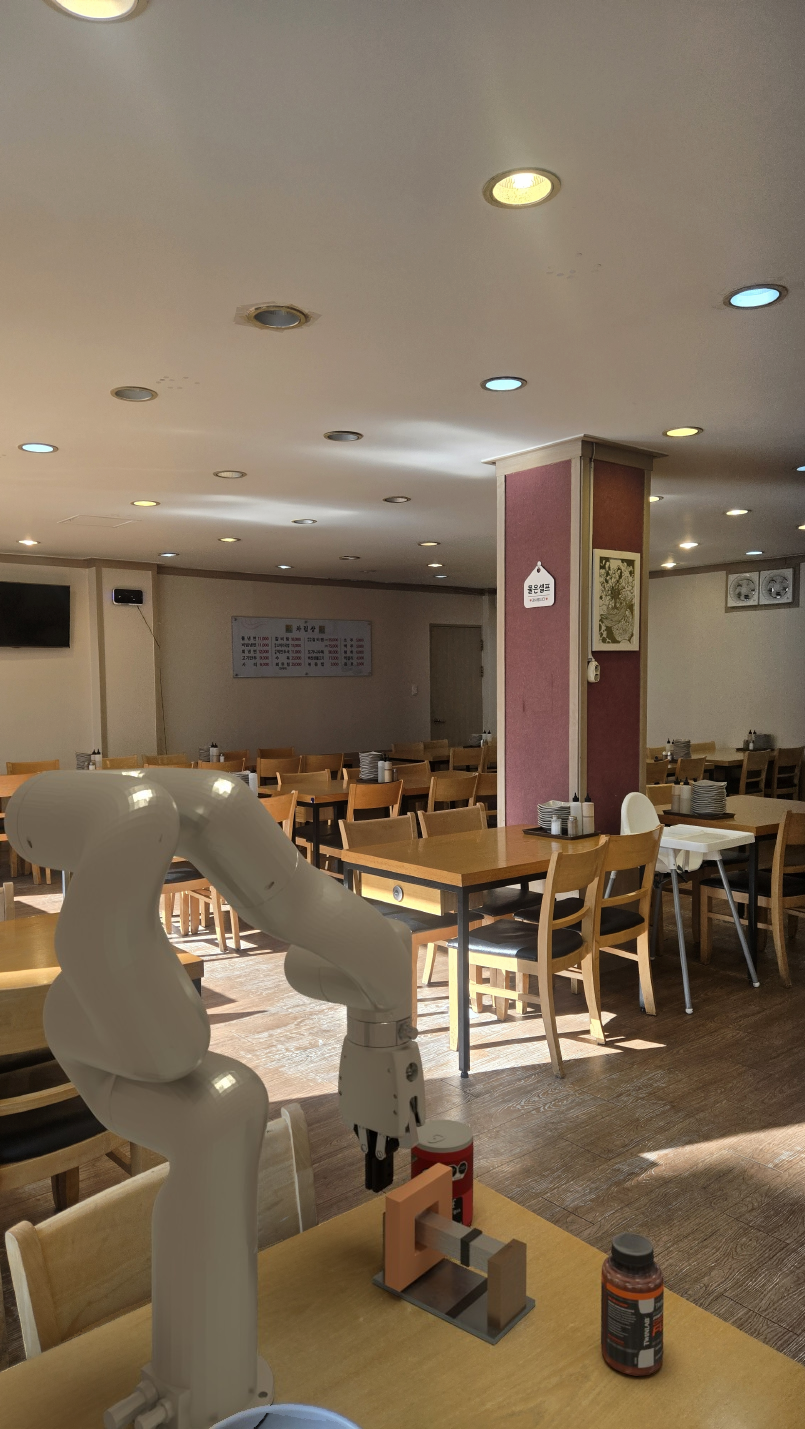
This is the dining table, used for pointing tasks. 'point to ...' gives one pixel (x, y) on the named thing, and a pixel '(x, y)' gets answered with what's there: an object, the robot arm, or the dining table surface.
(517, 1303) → the stand
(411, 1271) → the collar
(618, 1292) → the supplement bottle
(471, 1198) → the canned food
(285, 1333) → the dining table surface
